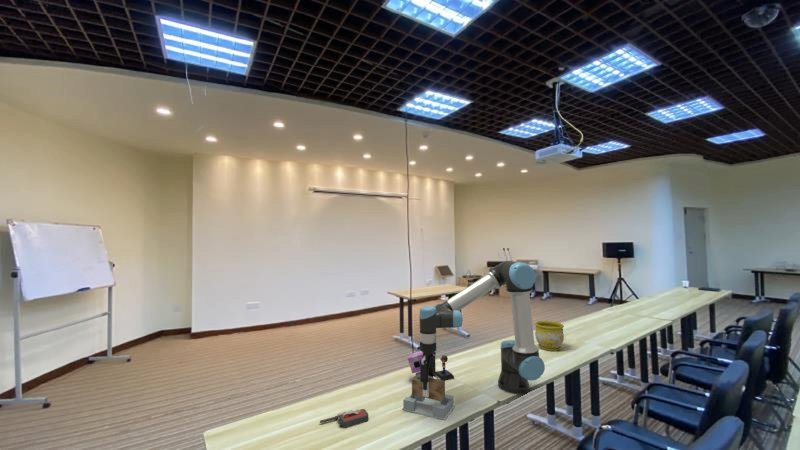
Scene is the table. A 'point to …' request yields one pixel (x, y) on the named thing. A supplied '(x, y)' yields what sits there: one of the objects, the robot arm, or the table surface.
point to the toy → (415, 362)
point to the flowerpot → (549, 335)
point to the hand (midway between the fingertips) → (428, 393)
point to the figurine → (444, 371)
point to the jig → (429, 406)
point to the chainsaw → (350, 418)
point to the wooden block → (434, 388)
